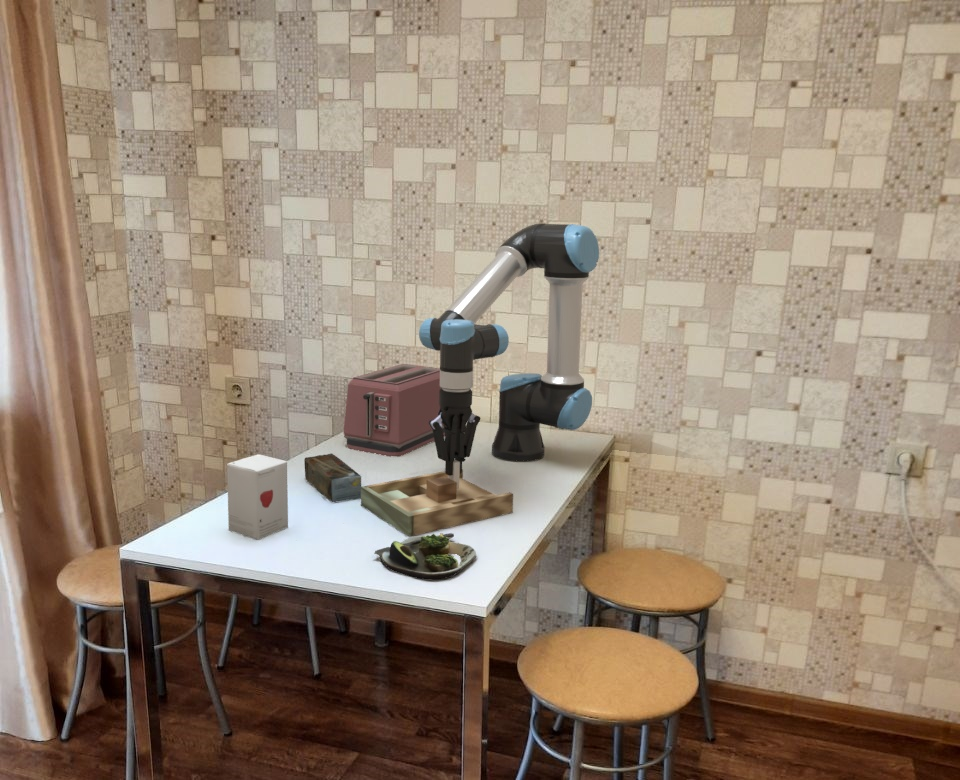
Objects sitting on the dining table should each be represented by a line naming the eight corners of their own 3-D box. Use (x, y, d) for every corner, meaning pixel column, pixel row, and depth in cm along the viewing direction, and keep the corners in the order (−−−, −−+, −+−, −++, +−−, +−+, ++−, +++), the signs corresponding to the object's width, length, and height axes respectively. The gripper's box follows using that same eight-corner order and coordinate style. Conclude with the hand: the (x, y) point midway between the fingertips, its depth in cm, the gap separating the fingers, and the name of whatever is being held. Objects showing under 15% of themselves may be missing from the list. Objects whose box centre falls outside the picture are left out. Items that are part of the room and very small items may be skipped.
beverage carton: (330, 504, 188) (330, 477, 187) (303, 480, 204) (302, 455, 203) (362, 498, 192) (362, 472, 191) (333, 476, 208) (333, 451, 207)
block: (444, 492, 190) (444, 476, 189) (456, 498, 186) (456, 482, 185) (426, 496, 187) (426, 479, 186) (437, 502, 183) (438, 486, 182)
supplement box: (257, 541, 166) (255, 471, 162) (227, 531, 170) (225, 463, 167) (289, 527, 173) (288, 460, 170) (260, 518, 178) (258, 452, 175)
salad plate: (419, 533, 173) (419, 513, 172) (493, 551, 165) (493, 530, 164) (364, 565, 156) (364, 543, 156) (443, 588, 148) (443, 564, 147)
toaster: (337, 449, 231) (336, 379, 226) (401, 424, 260) (402, 361, 256) (393, 460, 222) (394, 387, 218) (453, 432, 252) (455, 368, 248)
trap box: (459, 485, 203) (460, 468, 202) (512, 512, 186) (513, 493, 185) (360, 505, 187) (360, 486, 186) (408, 536, 170) (408, 516, 169)
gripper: (470, 382, 190) (467, 478, 195) (422, 388, 182) (420, 487, 187) (488, 388, 184) (485, 487, 189) (440, 394, 176) (438, 497, 181)
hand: (453, 487), depth 188 cm, fingers closed
